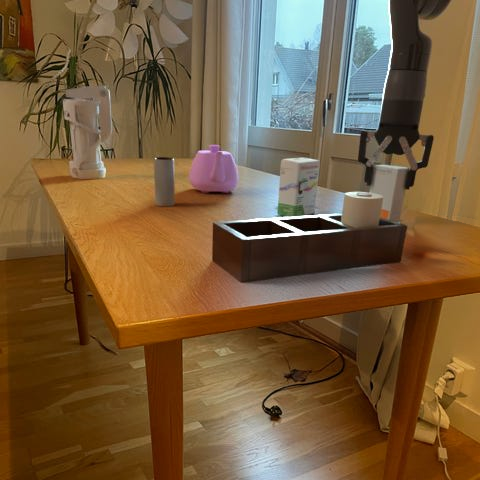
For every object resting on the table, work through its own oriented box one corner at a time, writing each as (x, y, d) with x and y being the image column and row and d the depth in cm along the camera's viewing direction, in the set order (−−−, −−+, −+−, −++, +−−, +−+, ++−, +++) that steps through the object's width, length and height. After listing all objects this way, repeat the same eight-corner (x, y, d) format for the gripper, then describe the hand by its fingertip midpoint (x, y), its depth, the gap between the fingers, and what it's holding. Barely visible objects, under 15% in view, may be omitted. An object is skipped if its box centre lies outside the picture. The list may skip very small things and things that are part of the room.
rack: (359, 245, 85) (364, 211, 83) (400, 262, 77) (407, 225, 75) (211, 260, 74) (212, 222, 71) (240, 282, 65) (242, 239, 63)
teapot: (186, 184, 138) (186, 141, 133) (232, 185, 140) (233, 142, 135) (193, 197, 120) (193, 148, 115) (245, 198, 122) (247, 149, 117)
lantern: (68, 179, 138) (58, 83, 128) (72, 173, 148) (63, 84, 137) (114, 179, 141) (108, 85, 130) (115, 174, 150) (109, 86, 140)
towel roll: (374, 253, 81) (384, 193, 77) (371, 263, 76) (382, 199, 71) (339, 249, 83) (347, 189, 78) (334, 258, 77) (342, 195, 73)
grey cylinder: (154, 206, 109) (152, 159, 104) (156, 202, 113) (155, 156, 109) (173, 206, 109) (173, 159, 105) (175, 202, 113) (174, 157, 109)
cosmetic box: (363, 223, 101) (372, 165, 96) (375, 221, 104) (384, 164, 99) (388, 229, 97) (398, 168, 92) (399, 227, 100) (410, 167, 95)
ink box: (294, 218, 103) (299, 161, 98) (276, 214, 106) (280, 159, 101) (315, 213, 109) (321, 159, 104) (298, 209, 112) (302, 157, 107)
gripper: (362, 96, 89) (350, 186, 96) (444, 99, 85) (425, 193, 92) (366, 97, 95) (354, 181, 102) (442, 100, 91) (424, 188, 98)
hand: (388, 187), depth 97 cm, fingers closed on cosmetic box, 7 cm apart
